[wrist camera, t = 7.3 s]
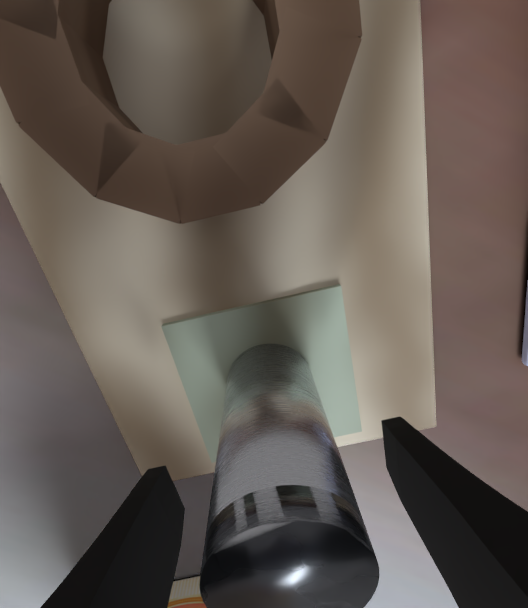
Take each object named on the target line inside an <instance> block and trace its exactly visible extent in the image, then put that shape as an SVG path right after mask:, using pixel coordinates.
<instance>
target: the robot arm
mask: <svg viewBox="0 0 528 608" xmlns="http://www.w3.org/2000/svg"><path fill="white" fill-rule="evenodd" d="M522 362H523V364H525V365H526V366H528V282H527V295H526V309H525V322H524V336H523V349H522ZM381 422H382V431H383V440H384V449H385V457H386V466H387V470H388V472H389V474H390V477H391V479H392V481H393V484H394V486H395V488H396V491H397V493H398V495H399V497H400V500H401V502H402V504H403V506H404V508H405V509H406V511H407V513H408V515H409V517H410V519H411V520H412V522H413V524H414V526H415V528H416V530H417V531H418V533H419V535H420V537H421V539H422V540H423V542H424V544H425V546H426V548H427V549H428V551H429V553H430V555H431V557H432V558H433V560H434V562H435V564H436V566H437V568H438V569H439V571H440V573H441V575H442V577H443V578H444V580H445V582H446V584H447V586H448V587H449V589H450V591H451V593H452V595H453V597H454V599H455V601H456V603H457V605H458V607H459V608H528V512H527V511H526V510H524V509H523V508H521V507H520V506H518V505H517V504H515V503H514V502H512V501H511V500H509V499H508V498H506V497H505V496H503V495H502V494H500V493H499V492H498V491H496V490H495V489H493V488H492V487H490V486H489V485H487V484H486V483H485V482H483V481H482V480H480V479H479V478H478V477H476V476H475V475H474V474H472V473H471V472H470V471H468V470H467V469H466V468H464V467H463V466H462V465H460V464H459V463H458V462H456V461H455V460H454V459H452V458H451V457H450V456H448V455H447V454H446V453H445V452H443V451H442V450H441V449H440V448H438V447H437V446H436V445H435V444H433V443H432V442H431V441H430V440H428V439H427V438H426V437H425V436H424V435H422V434H421V433H420V432H419V431H418V430H416V429H415V428H414V427H413V426H412V425H410V424H409V423H408V422H407V421H406V420H405V419H403V418H402V417H395V418H390V419H385V420H381ZM184 510H185V508H184V506H183V504H182V502H181V499H180V497H179V495H178V492H177V490H176V488H175V486H174V483H173V481H172V479H171V476H170V474H169V472H168V470H167V467H166V465H165V466H160V467H156V468H151V469H148V470H147V471H146V472H145V474H144V475H143V476H142V478H141V479H140V480H139V482H138V483H137V484H136V486H135V487H134V489H133V490H132V491H131V493H130V494H129V495H128V497H127V498H126V500H125V501H124V502H123V504H122V505H121V507H120V508H119V509H118V511H117V512H116V513H115V515H114V516H113V517H112V519H111V520H110V521H109V523H108V524H107V525H106V527H105V528H104V529H103V531H102V532H101V533H100V535H99V536H98V538H97V539H96V540H95V541H94V543H93V544H92V545H91V546H90V548H89V549H88V550H87V552H86V553H85V554H84V555H83V557H82V558H81V559H80V560H79V562H78V563H77V564H76V565H75V567H74V568H73V569H72V570H71V572H70V573H69V574H68V575H67V577H66V578H65V579H64V580H63V582H62V583H61V584H60V585H59V587H58V588H57V589H56V590H55V591H54V592H53V594H52V595H51V596H50V597H49V598H48V600H47V601H46V602H45V603H44V604H43V605H42V606H41V608H167V607H168V603H169V598H170V594H171V589H172V584H173V580H174V575H175V570H176V566H177V561H178V556H179V551H180V546H181V539H182V530H183V521H184Z"/></svg>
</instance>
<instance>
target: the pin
mask: <svg viewBox="0 0 528 608" xmlns="http://www.w3.org/2000/svg"><path fill="white" fill-rule="evenodd" d="M378 580H379V566H378V562H377V559H376V556H375V553H374V550H373V547H372V545H371V542H370V539H369V536H368V533H367V530H366V527H365V525H364V522H363V519H362V516H361V513H360V510H359V507H358V505H357V502H356V499H355V496H354V493H353V490H352V487H351V485H350V482H349V479H348V476H347V473H346V470H345V467H344V465H343V462H342V459H341V456H340V453H339V450H338V448H337V445H336V442H335V439H334V436H333V433H332V430H331V428H330V425H329V422H328V419H327V416H326V413H325V410H324V408H323V405H322V402H321V399H320V396H319V393H318V390H317V388H316V385H315V382H314V379H313V376H312V373H311V370H310V368H309V365H308V363H307V362H306V360H305V359H304V358H303V357H302V356H301V355H300V354H299V353H298V352H297V351H295V350H294V349H292V348H290V347H287V346H284V345H280V344H261V345H257V346H254V347H252V348H249V349H248V350H246V351H244V352H243V353H242V354H240V355H239V356H238V357H237V358H236V360H235V361H234V362H233V364H232V365H231V367H230V370H229V373H228V378H227V386H226V393H225V400H224V407H223V415H222V422H221V429H220V436H219V444H218V451H217V458H216V466H215V473H214V480H213V487H212V495H211V502H210V509H209V516H208V524H207V531H206V538H205V546H204V553H203V560H202V567H201V575H200V585H199V587H200V594H201V597H202V600H203V602H204V604H205V606H206V607H207V608H363V607H364V606H365V605H366V604H367V603H368V602H369V600H370V599H371V598H372V596H373V594H374V592H375V590H376V588H377V585H378Z"/></svg>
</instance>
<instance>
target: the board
mask: <svg viewBox="0 0 528 608" xmlns="http://www.w3.org/2000/svg"><path fill="white" fill-rule="evenodd" d="M0 183H1V185H2V187H3V189H4V191H5V193H6V195H7V197H8V199H9V201H10V204H11V206H12V208H13V210H14V212H15V214H16V216H17V218H18V220H19V222H20V224H21V226H22V228H23V231H24V233H25V235H26V237H27V239H28V241H29V243H30V245H31V247H32V249H33V251H34V253H35V255H36V258H37V260H38V262H39V264H40V266H41V268H42V270H43V272H44V274H45V276H46V278H47V280H48V282H49V284H50V287H51V289H52V291H53V293H54V295H55V297H56V299H57V301H58V303H59V305H60V307H61V309H62V311H63V314H64V316H65V318H66V320H67V322H68V324H69V326H70V328H71V330H72V332H73V334H74V336H75V338H76V341H77V343H78V345H79V347H80V349H81V351H82V353H83V355H84V357H85V359H86V361H87V363H88V365H89V367H90V370H91V372H92V374H93V376H94V378H95V380H96V382H97V384H98V386H99V388H100V390H101V392H102V394H103V397H104V399H105V401H106V403H107V405H108V407H109V409H110V411H111V413H112V415H113V417H114V419H115V421H116V424H117V426H118V428H119V430H120V432H121V434H122V436H123V438H124V440H125V442H126V444H127V446H128V448H129V450H130V453H131V455H132V457H133V459H134V461H135V463H136V465H137V467H138V469H139V471H140V473H141V475H142V476H143V475H144V474H145V472H146V471H147V470H148V469H151V468H156V467H160V466H165V465H166V467H167V470H168V472H169V474H170V476H171V479H172V481H176V480H181V479H185V478H190V477H195V476H200V475H205V474H210V473H214V472H215V466H216V458H217V451H218V444H219V436H220V429H221V422H222V415H223V407H224V400H225V393H226V386H227V378H228V373H229V370H230V367H231V365H232V364H233V362H234V361H235V360H236V358H237V357H238V356H239V355H240V354H242V353H243V352H244V351H246V350H248V349H249V348H252V347H254V346H257V345H261V344H280V345H284V346H287V347H290V348H292V349H294V350H295V351H297V352H298V353H299V354H300V355H301V356H302V357H303V358H304V359H305V360H306V362H307V363H308V365H309V368H310V370H311V373H312V376H313V379H314V382H315V385H316V388H317V390H318V393H319V396H320V399H321V402H322V405H323V408H324V410H325V413H326V416H327V419H328V422H329V425H330V428H331V430H332V433H333V436H334V439H335V442H336V445H337V447H340V446H345V445H350V444H355V443H359V442H364V441H369V440H374V439H379V438H383V431H382V422H381V420H385V419H390V418H395V417H402V418H403V419H405V420H406V421H407V422H408V423H409V424H410V425H412V426H413V427H414V428H415V429H416V430H422V429H427V428H432V427H436V404H435V378H434V352H433V325H432V299H431V273H430V246H429V220H428V194H427V167H426V141H425V115H424V88H423V62H422V36H421V9H420V0H0Z"/></svg>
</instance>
